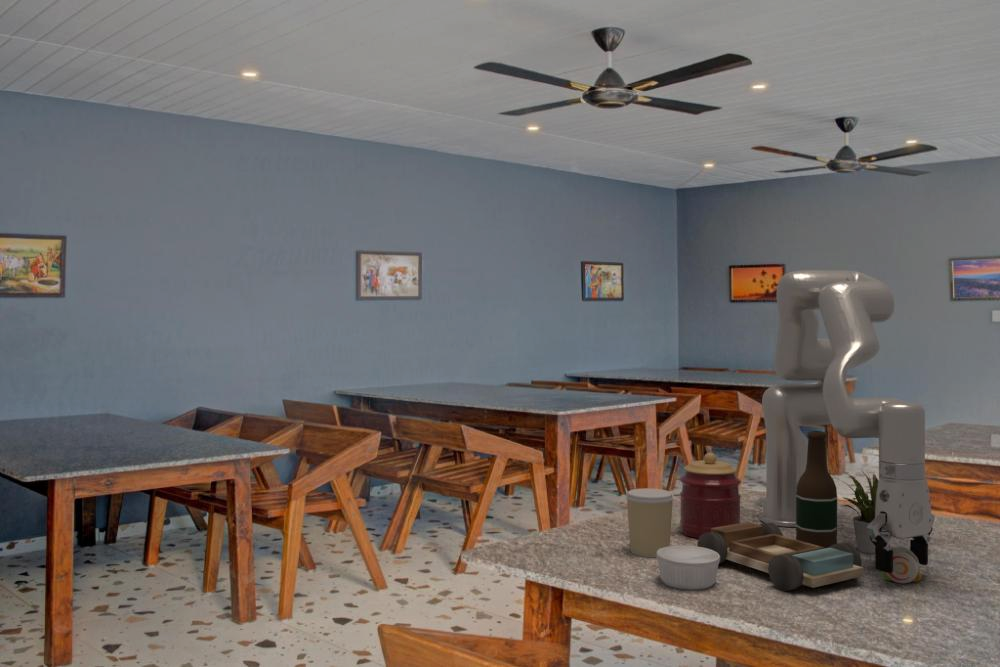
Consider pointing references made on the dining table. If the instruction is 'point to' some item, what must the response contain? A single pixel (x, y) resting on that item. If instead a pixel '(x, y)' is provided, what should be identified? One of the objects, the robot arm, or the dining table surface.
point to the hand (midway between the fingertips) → (901, 567)
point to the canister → (709, 496)
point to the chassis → (783, 555)
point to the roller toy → (903, 567)
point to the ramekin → (688, 566)
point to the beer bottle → (816, 497)
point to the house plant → (864, 513)
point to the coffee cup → (649, 520)
